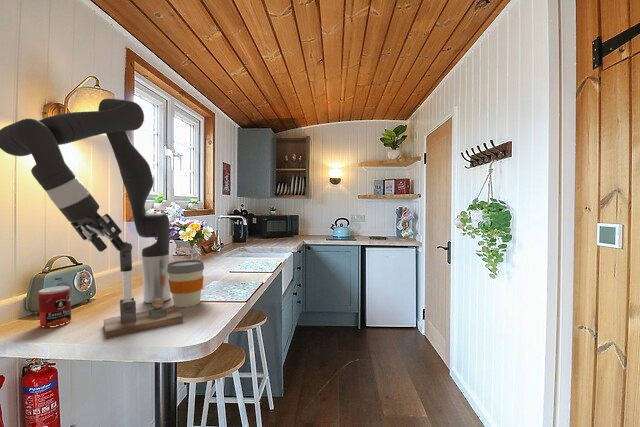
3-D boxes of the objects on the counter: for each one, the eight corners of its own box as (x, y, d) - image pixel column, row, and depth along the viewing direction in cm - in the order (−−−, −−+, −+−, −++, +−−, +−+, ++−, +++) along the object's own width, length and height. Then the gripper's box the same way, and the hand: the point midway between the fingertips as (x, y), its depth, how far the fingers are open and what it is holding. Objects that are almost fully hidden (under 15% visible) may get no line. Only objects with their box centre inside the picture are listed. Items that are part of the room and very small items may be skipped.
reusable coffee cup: (178, 298, 128) (176, 260, 128) (210, 298, 128) (208, 259, 127) (161, 308, 116) (160, 266, 115) (196, 308, 115) (195, 265, 115)
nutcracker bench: (103, 325, 100) (102, 299, 100) (174, 312, 112) (173, 288, 111) (105, 338, 90) (104, 309, 90) (182, 322, 102) (182, 296, 102)
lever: (120, 308, 99) (117, 241, 98) (134, 305, 101) (131, 240, 100) (121, 311, 96) (118, 242, 95) (135, 308, 98) (132, 241, 97)
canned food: (46, 330, 98) (44, 293, 97) (35, 325, 102) (33, 290, 101) (76, 322, 104) (74, 287, 104) (65, 317, 108) (63, 284, 108)
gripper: (102, 188, 82) (139, 239, 90) (71, 194, 89) (108, 241, 96) (75, 204, 77) (117, 258, 84) (44, 209, 83) (86, 258, 91)
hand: (112, 249), depth 90 cm, fingers open, 8 cm apart
